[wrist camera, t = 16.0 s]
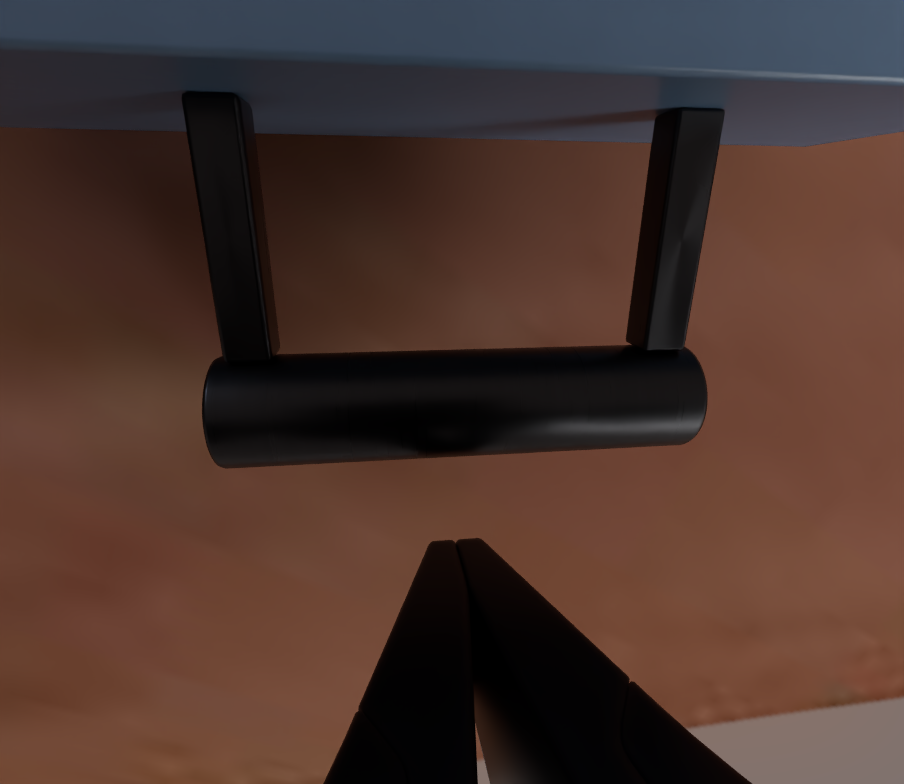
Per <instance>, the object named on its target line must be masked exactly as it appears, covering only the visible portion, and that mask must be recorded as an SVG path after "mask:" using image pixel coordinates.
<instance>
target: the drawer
mask: <svg viewBox="0 0 904 784" xmlns="http://www.w3.org/2000/svg"><path fill="white" fill-rule="evenodd" d="M0 127H16V128H57V129H98V130H140V131H181V132H187V138H188V144H189V150H190V156H191V163H192V169H193V175H194V181H195V187H196V194H197V200H198V206H199V212H200V219H201V225H202V231H203V237H204V243H205V250H206V256H207V262H208V268H209V274H210V281H211V287H212V293H213V299H214V306H215V312H216V318H217V324H218V330H219V337H220V343H221V349H222V355H223V356H221V357H219V358H217V359H215V360H214V361H213V362H212V364H211V365H210V367H209V370H208V372H207V375H206V379H205V384H204V389H203V398H202V420H203V429H204V435H205V439H206V444H207V447H208V450H209V453H210V455H211V457H212V459H213V460H214V462H215V463H216V464H217V465H218V466H220V467H223V468H245V467H265V466H284V465H303V464H322V463H341V462H360V461H380V460H399V459H418V458H437V457H456V456H476V455H495V454H514V453H533V452H552V451H571V450H591V449H610V448H629V447H648V446H667V445H681V444H685V443H687V442H689V441H690V440H692V439H693V438H694V437H695V436H696V435H697V434H698V432H699V431H700V429H701V427H702V425H703V422H704V419H705V415H706V410H707V385H706V380H705V376H704V372H703V369H702V367H701V365H700V363H699V361H698V359H697V358H696V356H695V355H694V354H693V353H692V352H691V351H690V350H689V349H687V348H686V347H684V345H685V339H686V333H687V328H688V322H689V316H690V311H691V305H692V299H693V293H694V288H695V282H696V276H697V270H698V265H699V259H700V253H701V248H702V242H703V236H704V230H705V225H706V219H707V213H708V207H709V202H710V196H711V190H712V184H713V179H714V173H715V167H716V162H717V156H718V150H719V144H720V145H761V146H802V147H806V146H812V145H819V144H825V143H831V142H838V141H844V140H851V139H857V138H864V137H870V136H877V135H883V134H890V133H896V132H902V131H904V0H0ZM255 133H264V134H305V135H347V136H388V137H430V138H471V139H513V140H554V141H595V142H637V143H652V144H651V152H650V159H649V167H648V175H647V182H646V190H645V197H644V205H643V213H642V220H641V228H640V235H639V243H638V251H637V258H636V266H635V273H634V281H633V289H632V296H631V304H630V311H629V319H628V327H627V334H626V341H627V342H628V343H630V344H632V345H616V346H578V347H541V348H503V349H465V350H428V351H390V352H352V353H315V354H277V355H276V353H277V352H278V351H279V348H280V342H279V333H278V325H277V316H276V308H275V299H274V291H273V283H272V274H271V266H270V257H269V249H268V240H267V232H266V223H265V215H264V206H263V198H262V189H261V181H260V173H259V164H258V156H257V147H256V139H255Z"/></svg>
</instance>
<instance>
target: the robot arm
mask: <svg viewBox="0 0 904 784" xmlns="http://www.w3.org/2000/svg"><path fill="white" fill-rule="evenodd" d="M629 680H630V679H629V677H628V676H627V675H626V674H625V673H624V672H623V671H622V670H621V669H620V668H619V667H618V666H616V665H615V664H614V663H613V662H612V661H611V660H610V659H609V658H608V657H607V656H606V655H605V654H604V653H603V652H602V651H600V650H599V649H598V648H597V647H596V646H595V645H594V644H593V643H592V642H591V641H590V640H589V639H588V638H587V637H586V636H584V635H583V634H582V633H581V632H580V631H579V630H578V629H577V628H576V627H575V626H574V625H573V624H572V623H571V622H570V621H568V620H567V619H566V618H565V617H564V616H563V615H562V614H561V613H560V612H559V611H558V610H557V609H556V608H555V607H554V606H552V605H551V604H550V603H549V602H548V601H547V600H546V599H545V598H544V597H543V596H542V595H541V594H540V593H539V592H538V591H536V590H535V589H534V588H533V587H532V586H531V585H530V584H529V583H528V582H527V581H526V580H525V579H524V578H523V577H521V576H520V575H519V574H518V573H517V572H516V571H515V570H514V569H513V568H512V567H511V566H510V565H509V564H508V563H507V562H505V561H504V560H503V559H502V558H501V557H500V556H499V555H498V554H497V553H496V552H495V551H494V550H493V549H492V548H491V547H489V546H488V545H487V544H486V543H485V542H484V541H483V540H482V539H480V538H472V539H460V540H458V541H457V542H456V543H455V542H454V541H453V540H444V541H433V542H431V543H430V544H429V546H428V548H427V550H426V552H425V555H424V557H423V559H422V562H421V564H420V566H419V569H418V571H417V573H416V576H415V578H414V580H413V582H412V585H411V587H410V589H409V592H408V594H407V596H406V599H405V601H404V603H403V606H402V608H401V610H400V613H399V615H398V617H397V619H396V622H395V624H394V626H393V629H392V631H391V633H390V636H389V638H388V640H387V643H386V645H385V647H384V649H383V652H382V654H381V656H380V659H379V661H378V663H377V666H376V668H375V670H374V673H373V675H372V677H371V680H370V682H369V684H368V686H367V689H366V691H365V693H364V696H363V698H362V700H361V703H360V705H359V709H358V710H359V711H358V712H356V714H355V716H354V718H353V720H352V723H351V725H350V727H349V730H348V732H347V734H346V736H345V739H344V741H343V743H342V745H341V747H340V750H339V752H338V754H337V756H336V758H335V760H334V762H333V764H332V766H331V769H330V771H329V773H328V775H327V777H326V779H325V781H324V783H323V784H478V780H477V757H476V734H475V723H476V727H477V731H478V735H479V739H480V744H481V748H482V752H483V756H484V760H485V764H486V768H487V773H488V777H489V781H490V784H752V783H751V782H749V781H748V780H747V779H745V778H744V777H743V776H742V775H741V774H739V773H738V772H737V771H736V770H734V769H733V768H732V767H731V766H729V765H728V764H727V763H726V762H725V761H723V760H722V759H721V758H720V757H719V756H717V755H716V754H715V753H714V752H713V751H711V750H710V749H709V748H708V747H706V746H705V745H704V744H703V743H702V742H700V741H699V740H698V739H697V738H696V737H694V736H693V735H692V734H691V733H690V732H689V731H688V730H686V729H685V728H684V727H683V726H682V725H681V724H680V723H679V722H678V721H676V720H675V719H674V718H673V717H672V716H671V715H670V714H669V713H667V712H666V711H665V710H664V709H663V708H662V707H661V706H660V705H659V704H657V703H656V702H655V701H654V700H653V699H652V698H651V697H650V696H649V695H648V694H647V693H646V692H645V691H643V690H642V689H641V688H640V687H639V686H638V685H637V684H636V683H635V682H630V683H629Z"/></svg>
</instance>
